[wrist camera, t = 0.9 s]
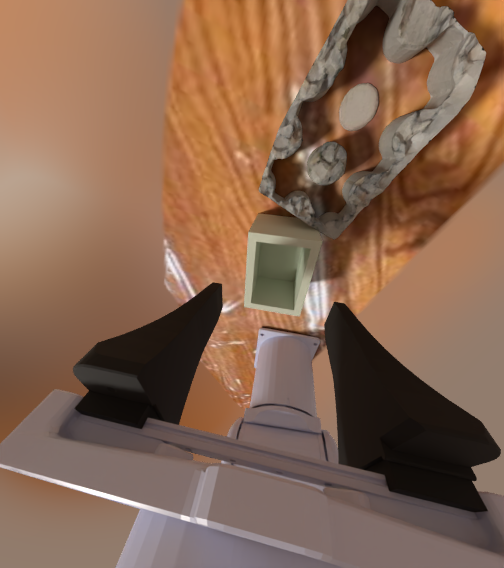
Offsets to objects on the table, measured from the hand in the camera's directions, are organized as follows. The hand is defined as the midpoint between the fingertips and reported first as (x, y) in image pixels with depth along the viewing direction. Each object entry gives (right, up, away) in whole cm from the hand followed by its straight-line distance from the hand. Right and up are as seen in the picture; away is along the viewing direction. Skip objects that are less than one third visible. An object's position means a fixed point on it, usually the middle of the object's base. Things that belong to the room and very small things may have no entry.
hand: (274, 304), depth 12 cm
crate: (+1, +5, +6) cm, 8 cm away
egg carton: (+5, +12, +1) cm, 13 cm away
